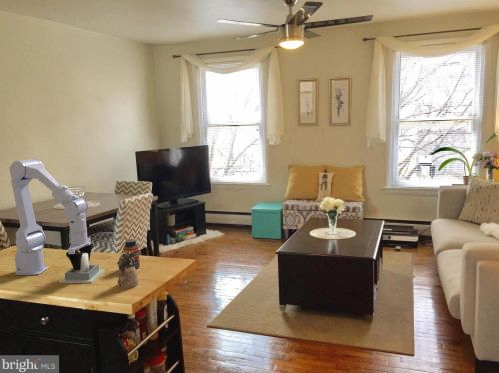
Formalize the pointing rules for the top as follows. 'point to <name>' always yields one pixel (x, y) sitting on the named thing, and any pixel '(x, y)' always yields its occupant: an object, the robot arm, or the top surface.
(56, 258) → the top surface
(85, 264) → the cream white egg
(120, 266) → the figurine
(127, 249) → the supplement bottle
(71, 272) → the cup holder
